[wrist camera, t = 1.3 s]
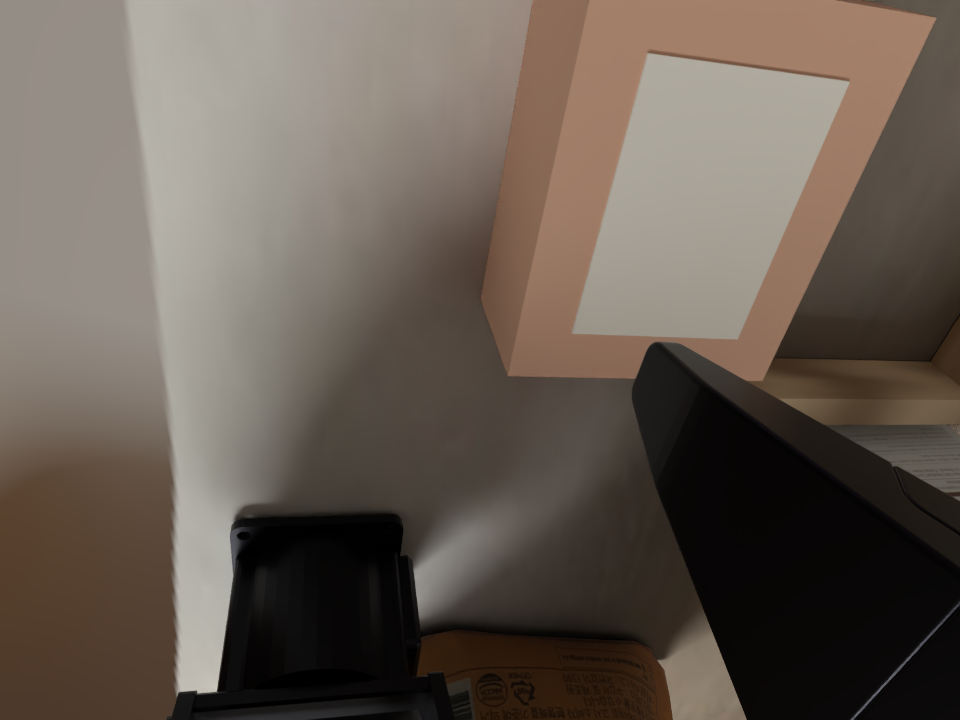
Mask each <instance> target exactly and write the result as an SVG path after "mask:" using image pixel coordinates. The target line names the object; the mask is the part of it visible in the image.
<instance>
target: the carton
mask: <svg viewBox="0 0 960 720" xmlns="http://www.w3.org/2000/svg"><path fill="white" fill-rule="evenodd" d="M935 21H936V18H935V17H931V16H927V15H923V14H918V13H914V12H910V11H906V10H902V9H897V8H893V7H889V6H885V5H880V4H876V3H872V2H868V1H864V0H533V3H532V9H531V15H530V20H529V26H528V32H527V38H526V43H525V49H524V55H523V60H522V66H521V72H520V77H519V83H518V89H517V94H516V100H515V106H514V111H513V117H512V123H511V129H510V134H509V140H508V146H507V151H506V157H505V163H504V168H503V174H502V180H501V185H500V191H499V197H498V202H497V208H496V214H495V220H494V225H493V231H492V237H491V242H490V248H489V254H488V259H487V265H486V271H485V276H484V282H483V288H482V293H481V302H482V305H483V307H484V310H485V313H486V316H487V319H488V322H489V324H490V327H491V330H492V333H493V336H494V339H495V342H496V344H497V347H498V350H499V353H500V356H501V359H502V361H503V364H504V367H505V370H506V373H507V376H517V377H571V378H624V379H636V376H637V374H638V371H639V368H640V366H641V363H642V361H643V358H644V356H645V353H646V351H647V349H648V347H649V346H650V345H651V344H652V343H654V342H675V343H680V344H682V345H684V346H686V347H687V348H689V349H691V350H693V351H694V352H696V353H698V354H700V355H702V356H703V357H705V358H707V359H709V360H710V361H712V362H714V363H716V364H717V365H719V366H721V367H723V368H725V369H726V370H728V371H730V372H732V373H733V374H735V375H737V376H739V377H740V378H742V379H744V380H746V381H763V379H764V376H765V374H766V372H767V370H768V368H769V366H770V364H771V362H772V360H773V358H774V356H775V354H776V351H777V349H778V347H779V345H780V343H781V341H782V339H783V337H784V335H785V333H786V331H787V329H788V327H789V324H790V322H791V320H792V318H793V316H794V314H795V312H796V310H797V308H798V306H799V304H800V302H801V299H802V297H803V295H804V293H805V291H806V289H807V287H808V285H809V283H810V281H811V279H812V277H813V274H814V272H815V270H816V268H817V266H818V264H819V262H820V260H821V258H822V256H823V254H824V252H825V250H826V247H827V245H828V243H829V241H830V239H831V237H832V235H833V233H834V231H835V229H836V227H837V225H838V222H839V220H840V218H841V216H842V214H843V212H844V210H845V208H846V206H847V204H848V202H849V200H850V197H851V195H852V193H853V191H854V189H855V187H856V185H857V183H858V181H859V179H860V177H861V175H862V172H863V170H864V168H865V166H866V164H867V162H868V160H869V158H870V156H871V154H872V152H873V150H874V148H875V145H876V143H877V141H878V139H879V137H880V135H881V133H882V131H883V129H884V127H885V125H886V123H887V120H888V118H889V116H890V114H891V112H892V110H893V108H894V106H895V104H896V102H897V100H898V98H899V95H900V93H901V91H902V89H903V87H904V85H905V83H906V81H907V79H908V77H909V75H910V73H911V70H912V68H913V66H914V64H915V62H916V60H917V58H918V56H919V54H920V52H921V50H922V48H923V46H924V43H925V41H926V39H927V37H928V35H929V33H930V31H931V29H932V27H933V25H934V23H935Z"/></svg>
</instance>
